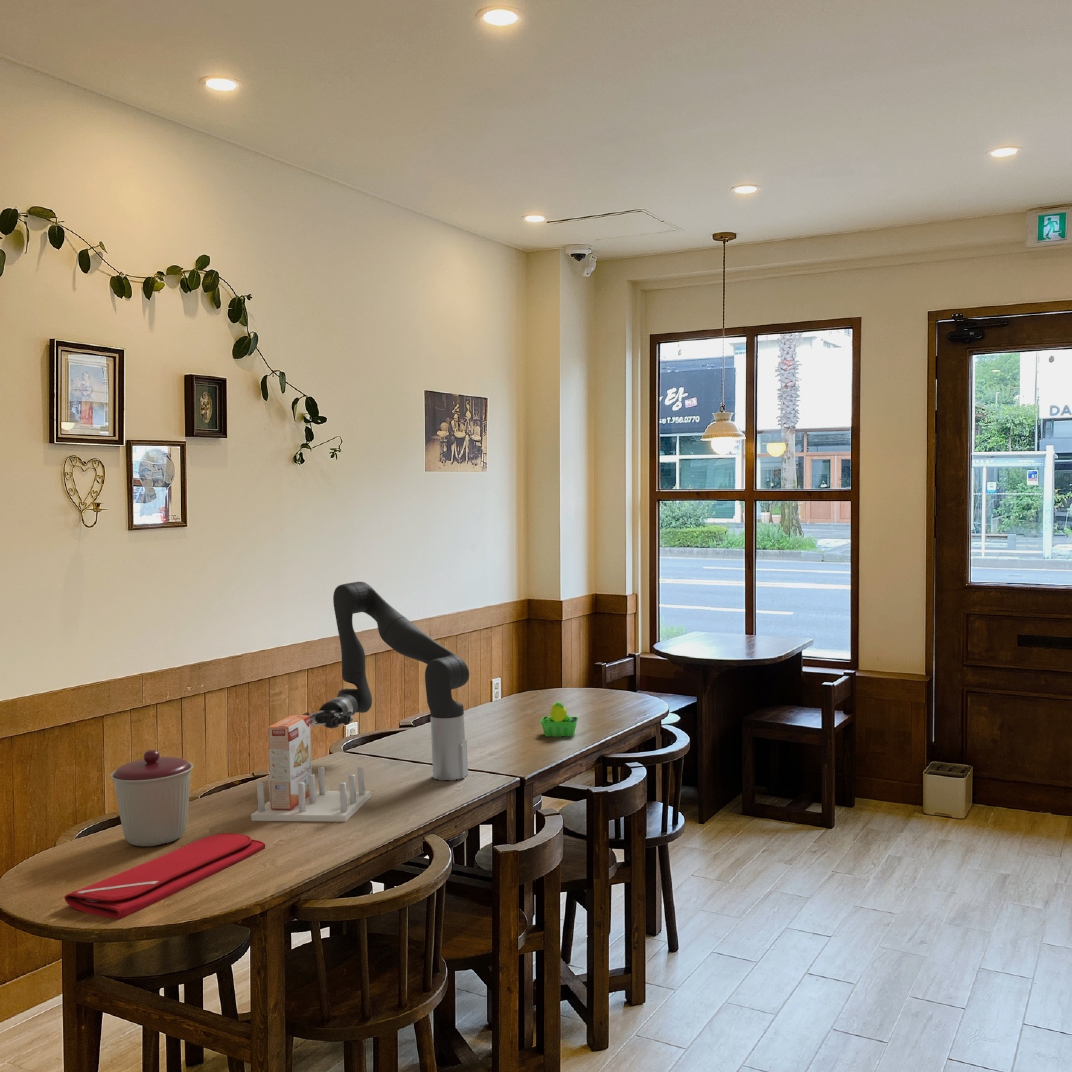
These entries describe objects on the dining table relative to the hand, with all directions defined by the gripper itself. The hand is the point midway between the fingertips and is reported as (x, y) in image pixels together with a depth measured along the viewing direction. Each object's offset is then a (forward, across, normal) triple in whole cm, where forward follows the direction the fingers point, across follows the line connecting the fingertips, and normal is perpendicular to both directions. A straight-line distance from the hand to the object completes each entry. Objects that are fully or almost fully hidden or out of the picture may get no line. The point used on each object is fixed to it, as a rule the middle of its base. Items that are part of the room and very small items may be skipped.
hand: (316, 724), depth 273 cm
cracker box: (+17, -1, +16) cm, 24 cm away
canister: (+41, -25, +18) cm, 51 cm away
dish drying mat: (+63, -10, +18) cm, 67 cm away
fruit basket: (-59, +59, +18) cm, 85 cm away
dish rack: (+18, +4, +18) cm, 25 cm away
